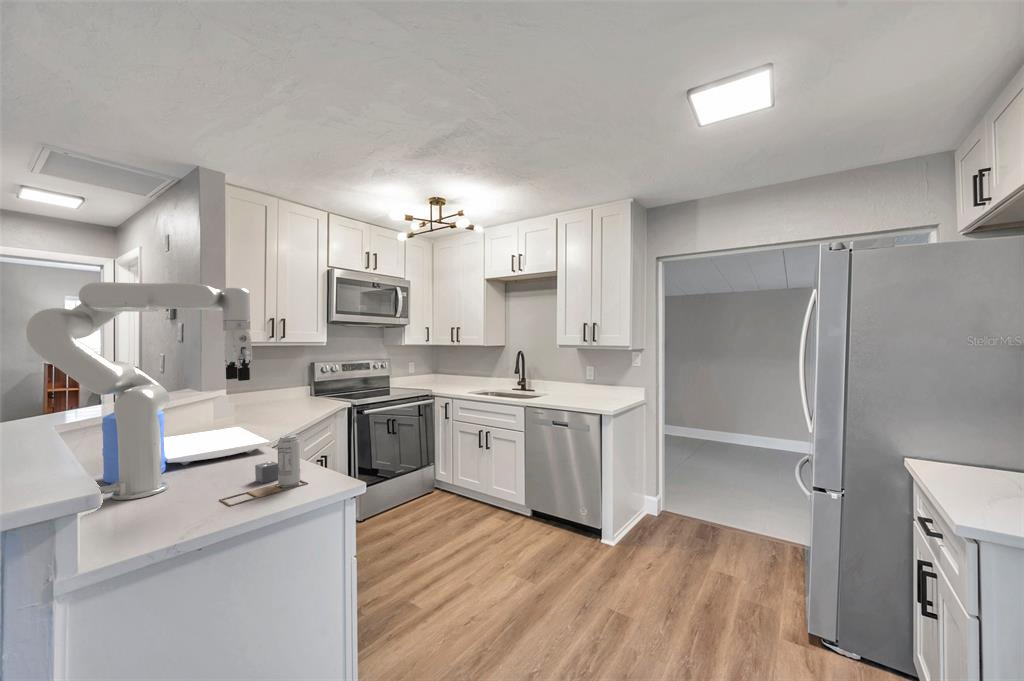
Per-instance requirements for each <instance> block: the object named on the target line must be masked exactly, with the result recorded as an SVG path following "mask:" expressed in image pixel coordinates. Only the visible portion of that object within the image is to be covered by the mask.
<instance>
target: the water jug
mask: <svg viewBox="0 0 1024 681" xmlns="http://www.w3.org/2000/svg"><path fill="white" fill-rule="evenodd" d="M158 418H159V423H160V437H161V475H162V474H164V472H165V471H166V468H167V466H166V462H165V451H164V437H165V435H164V434H165V421H166V420H165V412H164V411H163V410H161V411H159V412H158ZM101 431H102V457H103V458H102V459H103V461H102V462H103V464H102V466H103V474H102V480H103V482H105V483H107V484H113V483H116V480H119V462H118V432H117V423H116V418H115V414H114V411H113V412H112V413H109V414H107V415H105V416H104V417H102V423H101Z"/></svg>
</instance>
